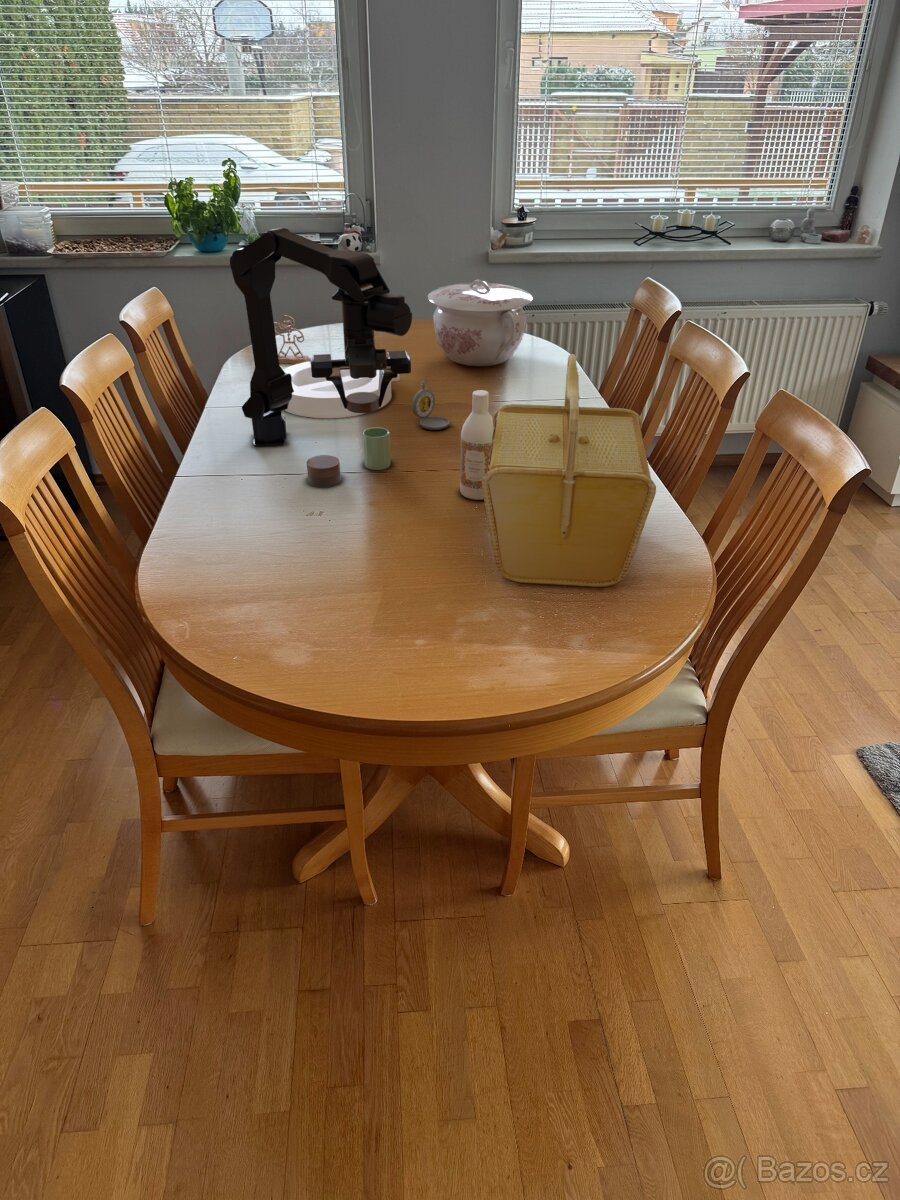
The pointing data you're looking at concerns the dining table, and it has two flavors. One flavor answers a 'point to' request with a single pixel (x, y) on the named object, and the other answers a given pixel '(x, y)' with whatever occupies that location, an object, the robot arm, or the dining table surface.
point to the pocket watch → (427, 409)
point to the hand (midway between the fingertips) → (362, 407)
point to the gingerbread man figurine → (285, 357)
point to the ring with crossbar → (327, 392)
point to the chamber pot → (479, 321)
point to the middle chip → (323, 466)
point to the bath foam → (476, 446)
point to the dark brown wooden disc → (362, 402)
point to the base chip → (324, 481)
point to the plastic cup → (376, 448)
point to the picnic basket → (566, 491)
